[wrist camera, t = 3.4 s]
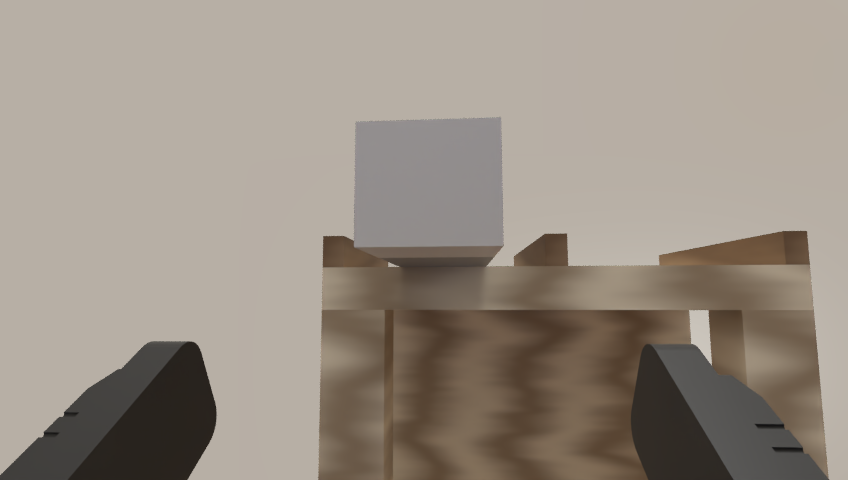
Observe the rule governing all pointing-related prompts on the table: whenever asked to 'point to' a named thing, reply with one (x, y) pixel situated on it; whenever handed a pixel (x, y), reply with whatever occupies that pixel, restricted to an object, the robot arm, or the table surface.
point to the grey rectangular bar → (429, 191)
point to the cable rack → (546, 356)
